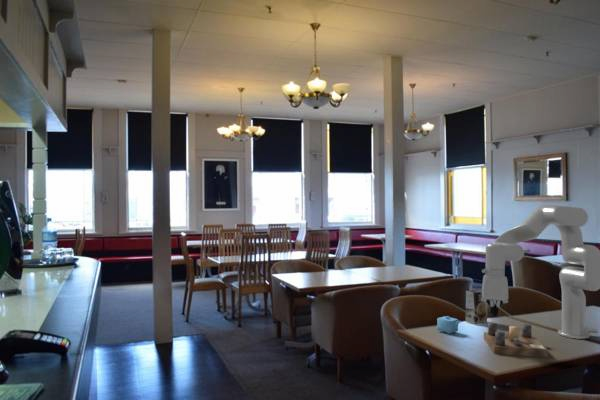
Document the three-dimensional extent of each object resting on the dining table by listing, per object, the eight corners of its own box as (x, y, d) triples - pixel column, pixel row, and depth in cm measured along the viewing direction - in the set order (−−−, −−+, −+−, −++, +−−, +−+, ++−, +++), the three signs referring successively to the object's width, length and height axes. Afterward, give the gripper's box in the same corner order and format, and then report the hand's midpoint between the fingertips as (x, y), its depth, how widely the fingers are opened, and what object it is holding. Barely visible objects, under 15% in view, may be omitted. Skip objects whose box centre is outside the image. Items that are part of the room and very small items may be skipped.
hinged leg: (524, 345, 182) (524, 333, 182) (514, 344, 183) (514, 332, 183) (517, 338, 192) (517, 326, 192) (508, 337, 193) (508, 325, 193)
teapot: (464, 334, 209) (464, 318, 209) (457, 337, 205) (457, 320, 205) (441, 328, 218) (441, 313, 219) (434, 331, 215) (434, 315, 215)
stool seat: (532, 341, 198) (532, 323, 198) (547, 357, 179) (547, 337, 179) (483, 338, 202) (484, 321, 202) (493, 353, 183) (494, 334, 183)
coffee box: (475, 324, 225) (475, 292, 225) (465, 321, 231) (465, 290, 231) (487, 322, 230) (488, 291, 230) (477, 319, 235) (477, 288, 235)
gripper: (478, 273, 190) (477, 316, 190) (516, 275, 187) (515, 319, 187) (474, 270, 197) (473, 312, 197) (511, 272, 194) (510, 315, 194)
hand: (494, 315), depth 192 cm, fingers closed
